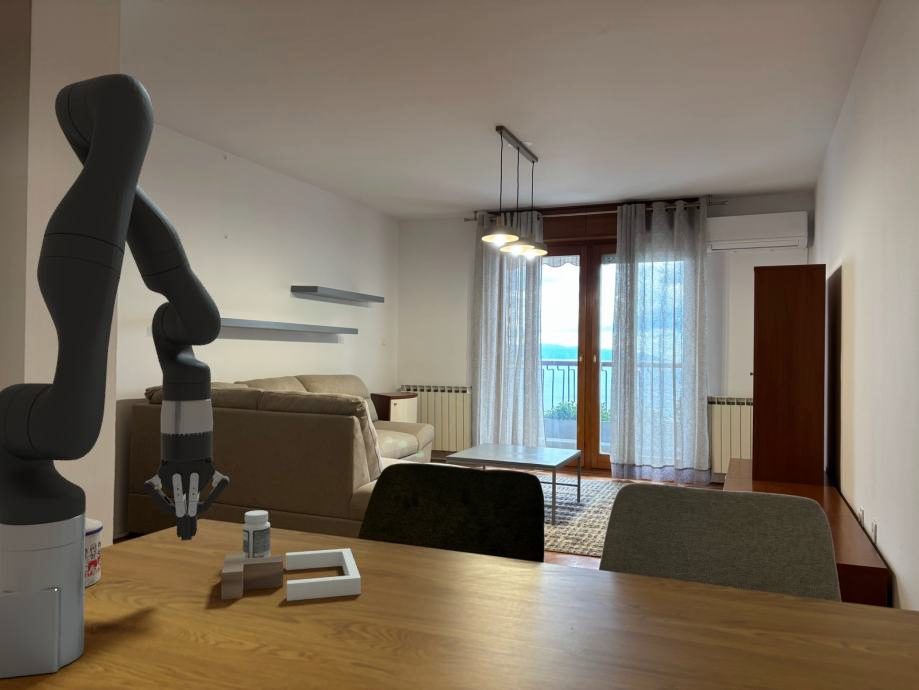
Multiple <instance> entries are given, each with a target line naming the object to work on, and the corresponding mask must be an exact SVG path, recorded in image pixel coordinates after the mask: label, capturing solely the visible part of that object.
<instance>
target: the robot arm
mask: <svg viewBox="0 0 919 690" xmlns="http://www.w3.org/2000/svg"><path fill="white" fill-rule="evenodd" d="M54 109H55V110H54V111H55V115H56V119H57V122H58V124H59V126H60V129H61V131H62V133H63V135H64V137H65V139H66V140H67V143H68V144H69V146H70V148H71V149H72V150H73V152H74V154H75V156H76V157H77V159H78V160H79V162H80V164H81V165H82V166H83V167H82V168H81V171H80V173H79V175H78V176H77V178H76V179H75V181H74V182H73V184H72V185H71V186H70V188H68V190H67V192H66V193H65V195H64V196H63V197H62V199H61V200H60V202H59V203H58V205H57V206H56V207H55V209H54V211H53V212H52V214H51V216H50V218H49V220H48V222H47V224H46V226H45V227H46V228H45V230H44V233H43V238H42V243H41V248H40V254H39V258H38V262H37V269H36V270H37V271H36V277H37V283H38V288H39V291H40V293H41V297H42V299H43V302H44V304H45V307H46V308H47V310H48V313H49V316H50V318H51V320H52V322H53V325H54V328H55V331H56V335H57V347H58V348H57V361H56V366H55V371H54V376H53V377H54V378H53V381H52V383H50V382H49V383H45V382H43V383H41V382H40V383H38V382H36V383H35V382H30V383H28V382H27V383H24V382H23V383H22V382H21V383H16V384H15V383H14V384H11V385H9V386H6V387H5V388H3V389H2V390H1V391H0V679H2V678H14V677H23V676H32V675H42V674H49V673H50V674H51V673H55V672H56V673H57V672H58V671H59V670H60V668H62V667H64V666H66V665H68V664H70V663H72V662H74V661H75V660H78V658H80V657H81V656H82V654H83V653H84V651H85V597H86V595H85V590H86V589H85V588H86V587H85V525H86V516H87V513H86V509H87V507H86V506H87V497H86V496H87V495H86V492H85V490H84V489H83V488H82V487H81V486H79V485H78V484H75V483H74V482H72V481H70V480H68V479H67V478H65V477H64V476H63V475H62V474H61V473H60V472H59V471H58V470H57V468H56V466H55V463H54V461H67V462H68V461H77V460H79V459H82V458H84V457H86V456H87V455H88V454H89V453H90V452H91V451H92V450H93V448H94V447H95V445H96V443H97V442H98V438H99V437H100V434H101V430H102V427H103V426H102V425H103V422H104V421H103V420H104V415H105V404H106V392H107V391H106V390H107V375H108V356H109V346H110V337H111V330H112V324H113V318H114V310H115V305H116V299H117V293H118V289H119V284H120V280H121V273H122V268H123V263H124V257H125V252H126V244H127V245H128V248H129V251H130V253H131V256H132V258H133V260H134V262H135V265H136V268H137V269H138V272H139V274H140V277H141V279H142V281H143V284H144V286H146V288H147V289H148V291H151V292H154V293H157V294H159V295H162V296H163V297H165V298H166V300H167V301H166V302H163V303H162V304H160V305H159V306H158V307H157V309H156V310H155V312H154V314H153V317H152V320H151V335H152V340H153V345H154V347H155V352H156V356H157V360H158V363H159V364H158V365H159V366H160V369H161V372H162V390H161V391H162V401H161V410H160V465H159V467H158V468H157V470H156V471H157V472H156V475H154V476H153V477H152V478H151V479H147V480H146V481H144V483H143V485H142V489H143V490H144V491H145V492H146V494H147V495H148V496H149V497H150V498H151V500H152V501H153V502H154V503H155V504H156V505H157V506H158V507H159V508H160V510H162V511H163V513H164V514H166V515H168V514H170V515H173V516H175V517H176V536H177V538H181V540H180V541H181V542H183V541H185V542H186V541H192V539H193V537H196V535H197V532H198V515H199V514H200V513H202V512H208V510H209V509H210V508H211V506H213V504H214V502H215V501H216V500H217V499H218V497H219V496H220V495H221V494H222V493H223V491H224V490H225V488H226V487H227V486H228V485H229V482H230V477H229V476H228V475H223V474H222V473H220V472H219V471H217V465H216V464H215V461H214V453H213V451H214V448H213V447H214V445H213V444H214V443H213V442H214V438H213V437H214V434H213V431H214V430H213V427H214V419H213V418H214V417H213V416H214V415H213V406H212V399H211V398H212V375H211V374H212V373H211V368H210V366H209V365H208V363H206V362H203V361H200V360H199V359H197V358H196V355H195V352H194V349H193V346H194V347H197V346H201V347H202V346H206V345H210V344H212V343H213V342H215V340H217V338H218V336H219V335H220V332H221V327H222V318H221V315H220V310H219V308H218V306H217V304H216V301H215V300H214V299H213V298H212V296H211V295H210V293H209V292H208V290H207V289H206V287H205V286H204V284H203V283H202V281H201V280H200V278H198V276H197V274H196V273H195V272H194V271H193V269H192V268H191V265H190V261H189V260H188V259H189V258H188V256H187V253H186V251H185V248H184V246H183V243H182V240H181V238H180V235H179V234H178V231H177V229H176V228H175V226H174V225H173V223H172V222H171V220H170V219H169V217H168V216H167V215H166V214H165V213H164V211H163V210H161V208H160V207H159V206H158V205H157V204H156V203H155V201H153V200H152V199H151V198H150V197H149V195H147V193H146V192H145V191H144V190H143V189H142V188H141V186H140V185H139V184H138V182H139V178H140V176H141V171H142V168H143V165H144V161H145V158H146V155H147V152H148V148H149V146H150V142H151V138H152V134H153V130H154V124H155V120H154V119H155V117H154V107H153V104H152V100H151V97H150V95H149V93H148V91H147V89H146V88H145V86H144V85H143V84H142V83H141V82H140V81H139V80H138V79H136V78H135V77H133V76H131V75H129V74H124V73H111V74H104V75H100V76H95V77H92V78H88V79H83V80H81V81H77V82H73V83H69V84H68V85H65V86H64V87H63V88H61V89H60V90H59V92H58V93H57V95H56V97H55V101H54ZM212 478H213V481H212V483H211V485H212V487H213V488H212V489H211V490H210V492H209V493H208V495H207V496H206V497H205V498H204V499H203V501H201V502H199V501H200V499H199V498H200V493H201V492H202V491H203V490H204V489H205V487H206V486H207V485H208V484H209V482H210V481H211V480H212ZM161 482H162V483H163V484H164V486H165V487H166V488H167V489H168V490H169V492H171V493H172V494H173V497H174V498H173V499H174V502H173V501H172V500H171V499H170V498H169V497H168V496H167V495H166V494H165V493H164V491H163V490H162V487H163V485H162V483H161ZM186 494H188V509H187V498H186V496H187V495H186Z"/></svg>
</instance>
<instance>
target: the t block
mask: <svg viewBox="0 0 919 690" xmlns="http://www.w3.org/2000/svg"><path fill="white" fill-rule="evenodd" d="M220 583H221V594H220V595H221V597H220V599H221V601H222V599H225V600H233V598H236V599H243V597H242V596H243V595H244V591H246V590H249V591H250V590H259V589H260V590H261V589H271V588H279V587H280V588H281V587H282V588H283V587H284V556H283V555H278V556H277V555H276V556H270V557H259V558H246V552H243V551H242V552H229V553H226V554H225V558H224V562H223V567H222V570H221V582H220Z"/></svg>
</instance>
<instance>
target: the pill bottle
mask: <svg viewBox="0 0 919 690" xmlns="http://www.w3.org/2000/svg"><path fill="white" fill-rule="evenodd" d="M244 522H245V523H244V524H243V526H242V552H246V558H259V557H271V523H270V522H269V512H268V511H267V510H262V509H261V510H250V511H247V512H245V513H244Z"/></svg>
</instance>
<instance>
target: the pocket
mask: <svg viewBox="0 0 919 690" xmlns="http://www.w3.org/2000/svg"><path fill="white" fill-rule="evenodd" d="M354 558H355V557H354V556H353V553H352V551H351V548H349V547H347V548H338V549H337V548H336V549H335V548H334V549H323V550H307V551H295V552H292V551H291V552H285V571H292V570H293V571H294V570H295V571H296V570H304V569H305V570H306V569H319V568H331V567H341V568H342V571H343V573H344V575H340V576H329V577H316V578H304V579H303V578H302V579H291V580H286V602H289V601H299V600H310V599H321V598H322V599H323V598H333V597H334V598H335V597H342V596H343V597H344V596H345V597H346V596H354V595H361V592H362V588H361V586H362V585H361V584H362V583H361V582H362V579H361V575H360V571H359V569H358V567H357V564H356V561H355V559H354Z"/></svg>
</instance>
